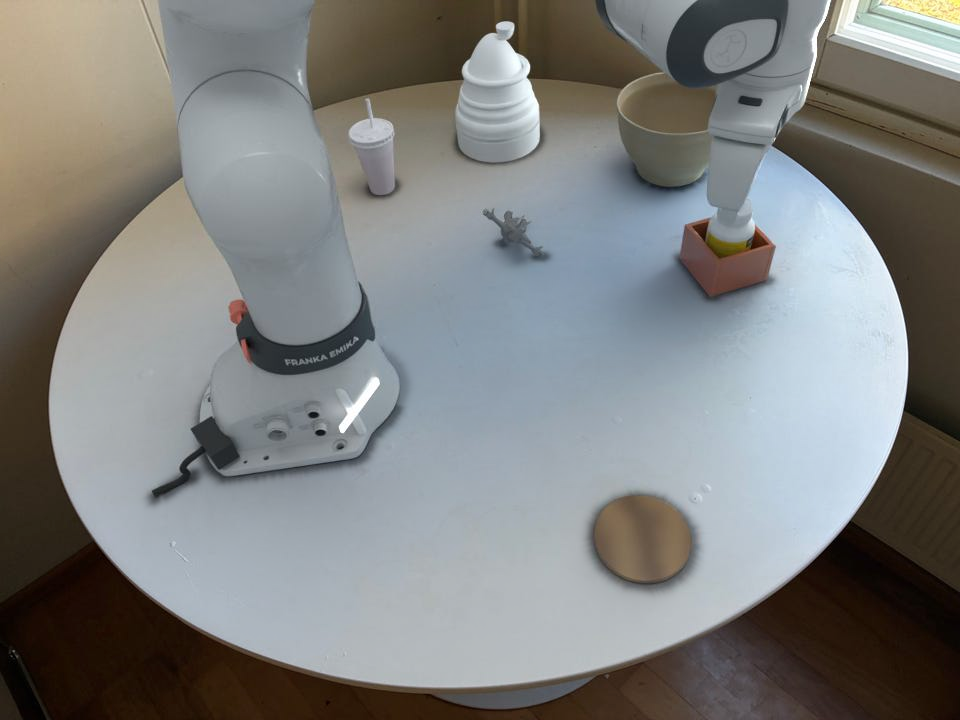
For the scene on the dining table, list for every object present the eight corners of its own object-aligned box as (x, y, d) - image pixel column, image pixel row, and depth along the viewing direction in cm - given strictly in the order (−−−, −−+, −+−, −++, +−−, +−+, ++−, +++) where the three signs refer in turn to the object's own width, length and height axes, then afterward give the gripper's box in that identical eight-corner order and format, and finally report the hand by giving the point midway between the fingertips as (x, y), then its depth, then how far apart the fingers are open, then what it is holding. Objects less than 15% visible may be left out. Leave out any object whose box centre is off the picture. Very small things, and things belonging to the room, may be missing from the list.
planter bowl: (645, 127, 119) (651, 61, 111) (744, 156, 112) (759, 87, 104) (592, 181, 111) (594, 113, 103) (696, 216, 104) (707, 146, 96)
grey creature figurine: (554, 223, 105) (559, 245, 97) (526, 256, 107) (529, 280, 99) (497, 179, 102) (497, 197, 94) (470, 213, 105) (468, 234, 97)
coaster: (618, 597, 69) (618, 594, 68) (579, 514, 75) (579, 511, 74) (708, 565, 70) (709, 562, 70) (662, 486, 76) (663, 483, 76)
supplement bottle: (745, 285, 94) (760, 222, 87) (699, 282, 95) (711, 218, 88) (744, 256, 98) (759, 193, 90) (700, 253, 99) (711, 190, 91)
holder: (710, 297, 93) (716, 263, 89) (679, 258, 98) (684, 224, 94) (766, 280, 94) (776, 245, 90) (733, 242, 99) (741, 208, 95)
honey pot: (546, 119, 123) (544, 6, 109) (531, 165, 115) (528, 48, 101) (468, 114, 125) (458, 3, 112) (448, 159, 117) (434, 45, 104)
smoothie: (412, 181, 114) (397, 95, 104) (386, 205, 111) (368, 118, 100) (378, 170, 117) (361, 85, 106) (352, 193, 113) (331, 107, 103)
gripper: (756, 31, 85) (736, 141, 95) (703, 128, 73) (686, 241, 83) (816, 39, 82) (788, 150, 93) (771, 140, 71) (745, 254, 81)
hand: (740, 194), depth 88 cm, fingers open, 8 cm apart
